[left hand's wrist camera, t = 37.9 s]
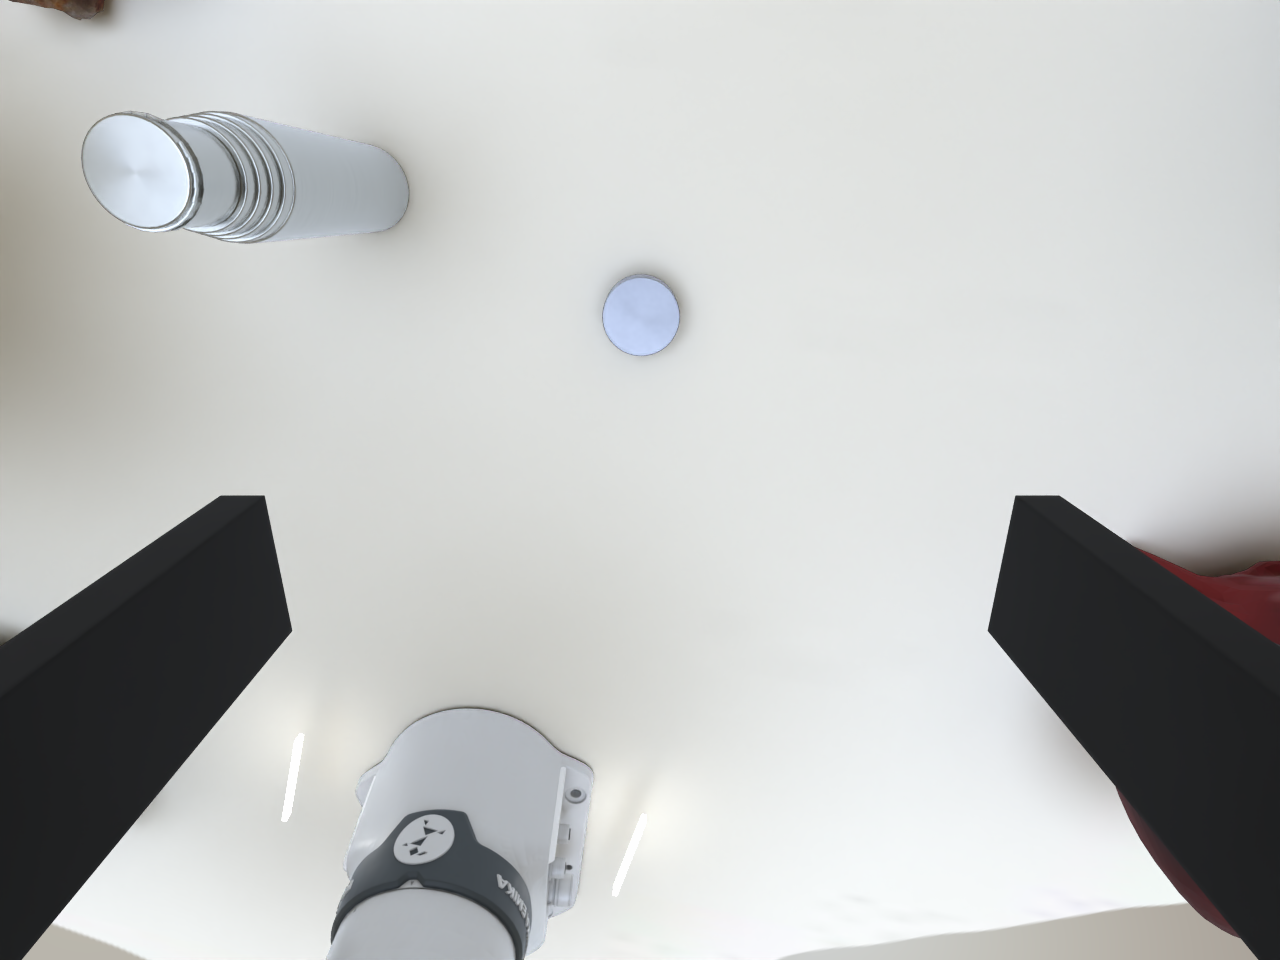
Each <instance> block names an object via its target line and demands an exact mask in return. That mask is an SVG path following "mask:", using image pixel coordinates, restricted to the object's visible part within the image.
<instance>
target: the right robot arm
mask: <svg viewBox="0 0 1280 960" xmlns="http://www.w3.org/2000/svg"><path fill="white" fill-rule="evenodd" d="M303 737H304V735H303V734H299V735H298V737H297V739H296V740H295V742H294V748H293V755H292V761H291V767H290V773H289V780H288V786H287V792H286V798H285V805H284V811H283V817H282V821H287V819H288V817H289V815H290V814H291V809H292V803H293V797H294V791H295V785H296V779H297V773H298V767H299V761H300V755H301V749H302V743H303ZM593 778H594V775H593V771H592V770H591V768H590V767H588V766H587V765H586V764H584V763H582V762H580V761H578V760H576V759H574V758H572V757H569V756H567V755H564V754H562V753H561V752H559V751H558V750H557V749H556V748H555V747H553V746H552V745H551V744H550V743H549V742H548V741H547V740H546V739H545V738H544V737H543V736H542V735H541V734H540V733H539V732H537V731H536V730H535V729H533V728H532V727H530V726H529V725H527V724H525V723H524V722H522V721H520V720H518V719H516V718H513V717H511V716H508V715H505V714H502V713H499V712H495V711H490V710H484V709H471V708H464V709H452V710H446V711H441V712H438V713H434V714H431V715H429V716H426V717H424V718H422V719H420V720H418V721H416V722H415V723H413V724H412V725H410V726H409V727H408V728H406V729H405V730H404V731H403V732H402V733H401V734H400V735H399V736H398V738H397V739H396V740H395V741H394V743H393V744H392V746H391V748H390V750H389V752H388V753H387V755H386V757H385V758H384V759H383V761H382V762H381V763H379V764H378V765H376V766H374V767H373V768H371V769H370V770H368V771H367V772H366V773H364V774H363V775H362V776H361V777H360V779H359V782H358V784H357V787H356V796H357V798H358V800H359V802H360V804H361V806H362V811H361V813H360V816H359V819H358V821H357V824H356V827H355V830H354V833H353V835H352V838H351V841H350V844H349V847H348V850H347V852H346V855H345V859H344V864H343V866H344V870H345V871H346V872H347V874H348V878H349V880H350V883H349V885H348V887H346V889H345V891H344V893H343V895H342V898H341V900H340V903H339V905H338V908H337V909H338V910H337V912H336V914H337V915H336V918H335V920H334V923H333V927H332V931H331V947H330V950H329V952H328V954H327V957H326V959H325V960H524V958H525V956H527V955H529V954H531V953H533V952H534V951H536V950H537V949H538V948H539V947H541V945H542V944H543V943H544V941H545V936H546V930H547V922H548V918H551V917H554V916H556V915H559V914H561V913H563V912H565V911H567V910H569V909H570V908H572V907H573V906H574V904H575V901H576V896H577V891H578V885H579V878H580V871H581V864H582V856H583V849H584V842H585V835H586V828H587V821H588V814H589V807H590V800H591V792H592V785H593ZM575 789H577V790H579V791H575ZM645 824H646V815H644V814H642V815H641V818H640V820H639V823H638V825H637V828H636V830H635V833H634V835H633V838H632V840H631V843H630V845H629V848H628V850H627V853H626V855H625V858H624V861H623V863H622V866H621V868H620V871H619V873H618V876H617V878H616V881H615V883H614V886H613V895H614V896H617V894H618V891H619V889H620V886H621V884H622V882H623V879H624V877H625V874H626V872H627V869H628V867H629V864H630V862H631V859H632V857H633V854H634V852H635V849H636V847H637V844H638V842H639V839H640V837H641V834H642V832H643V829H644V827H645Z"/></svg>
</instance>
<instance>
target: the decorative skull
mask: <svg viewBox="0 0 1280 960" xmlns="http://www.w3.org/2000/svg"><path fill="white" fill-rule="evenodd" d="M1135 548H1136V547H1135ZM1137 549H1138V548H1137ZM1138 550H1139V551H1141V552H1142V553H1144V554H1145V555H1147V556H1148V557H1150V558H1151V559H1153V560H1154V561H1156V562H1157V563H1158V564H1160V565H1161V566H1163V567H1164V568H1166V569H1167V570H1169V571H1170V572H1172V573H1173V574H1174V575H1176V576H1177V577H1179V578H1180V579H1182V580H1183V581H1185V582H1186V583H1188V584H1189V585H1191V586H1192V587H1193V588H1195V589H1196V590H1198V591H1199V592H1201V593H1202V594H1204V595H1205V596H1207V597H1208V598H1210V599H1211V600H1212V601H1214V602H1215V603H1217V604H1218V605H1220V606H1221V607H1223V608H1224V609H1226V610H1227V611H1229V612H1230V613H1231V614H1233V615H1234V616H1236V617H1237V618H1239V619H1240V620H1242V621H1243V622H1245V623H1246V624H1247V625H1249V626H1250V627H1252V628H1253V629H1255V630H1256V631H1258V632H1259V633H1261V634H1262V635H1264V636H1265V637H1266V638H1268V639H1269V640H1271V641H1272V642H1274V643H1276V644H1278V645H1280V561H1261V562H1258V563H1256V564H1255V565H1253V566H1251V567H1250V568H1248V569H1247V570H1245V571H1241V572H1237V573H1234V574H1232V575H1223V576H1218V577H1208V576H1199V575H1197V574H1195V573H1193V572H1190V571H1188V570H1186V569H1184V568H1182V567H1179V566H1177V565H1175V564H1173V563H1171V562H1168V561H1166V560H1164V559H1162V558H1160V557H1158V556H1155V555H1153V554H1151V553H1148V552H1146V551H1143V550H1141V549H1138ZM1116 789H1117V792H1118V794H1119V797H1120V799H1121V801H1122V804H1123V806H1124V808H1125V810H1126V813H1127V815H1128V817H1129V819H1130V821H1131V823H1132V825H1133V827H1134V828H1135V830H1136V832H1137V834H1138V836H1139V838H1140V839H1141V841H1142V843H1143V844H1144V846H1145V847H1146V849H1147V850H1148V852H1149V853H1150V855H1151V856H1152V858H1153V859H1154V861H1155V862H1156V863H1157V865H1158V866H1159V867H1160V869H1161V870H1162V871H1163V873H1164V874H1165V875H1166V876H1167V878H1168V879H1169V880H1170V882H1171V883H1172V884H1173V885H1174V887H1175V888H1176V889H1177V891H1178V892H1179V893H1180V894H1181V895H1182V896H1183V897H1184V898H1185V900H1186V901H1187V902H1188V903H1189V904H1190V905H1191V906H1192V907H1193V908H1194V909H1195V910H1196V911H1197V912H1198V913H1199V914H1200V915H1201V916H1202V917H1204V918H1205V919H1206V920H1208V921H1209V922H1211V923H1212V924H1214V925H1215V926H1217V927H1218V928H1220V929H1221V930H1223V931H1225V932H1227V933H1229V934H1231V935H1233V936H1236V937H1238V938H1240V937H1239V936H1238V934H1237V933H1236V932H1235V931H1234V929H1233V928H1232V927H1231V926H1230V925H1229V923H1228V922H1227V921H1226V920H1225V919H1224V917H1223V916H1222V915H1221V914H1220V912H1219V911H1218V910H1217V909H1216V908H1215V906H1214V905H1213V904H1212V903H1211V901H1210V900H1209V899H1208V898H1207V897H1206V895H1205V894H1204V893H1203V892H1202V891H1201V889H1200V888H1199V887H1198V886H1197V884H1196V883H1195V882H1194V881H1193V880H1192V878H1191V877H1190V876H1189V875H1188V874H1187V872H1186V871H1185V870H1184V869H1183V867H1182V866H1181V865H1180V864H1179V863H1178V861H1177V860H1176V859H1175V858H1174V857H1173V855H1172V854H1171V853H1170V852H1169V850H1168V849H1167V848H1166V847H1165V846H1164V844H1163V843H1162V842H1161V841H1160V840H1159V838H1158V837H1157V836H1156V835H1155V833H1154V832H1153V831H1152V830H1151V829H1150V827H1149V826H1148V825H1147V824H1146V823H1145V821H1144V820H1143V819H1142V818H1141V816H1140V815H1139V814H1138V813H1137V812H1136V810H1135V809H1134V808H1133V807H1132V806H1131V804H1130V803H1129V802H1128V801H1127V799H1126V798H1125V797H1124V796H1123V795H1122V793H1121V792H1120V791H1119V790H1118V788H1117V787H1116Z"/></svg>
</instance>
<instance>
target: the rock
mask: <svg viewBox="0 0 1280 960" xmlns="http://www.w3.org/2000/svg"><path fill="white" fill-rule="evenodd" d="M9 1H12V2H19V3H25V4H31V5H36V6H40V7H45V8H54V9H57V10H60V11H63V12H65V13H66V14H68V15H69V16H71V17H73V18H76V19H78V20H81V19H82V18H83V19H91V18H92V17H93V16H94V15H95V14H96V13H98V12H102V11H103V8H104V0H9Z"/></svg>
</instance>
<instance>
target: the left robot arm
mask: <svg viewBox="0 0 1280 960" xmlns="http://www.w3.org/2000/svg"><path fill="white" fill-rule="evenodd" d="M291 632H292V627H291V622H290V617H289V613H288V608H287V603H286V598H285V593H284V588H283V583H282V578H281V574H280V569H279V564H278V559H277V554H276V549H275V544H274V539H273V535H272V530H271V525H270V520H269V515H268V510H267V505H266V500H265V496H219V497H218V498H216V499H215V500H214V501H212V502H211V503H209V504H208V505H206V506H205V507H203V508H202V509H200V510H199V511H197V512H196V513H195V514H193V515H192V516H190V517H189V518H187V519H186V520H184V521H183V522H181V523H180V524H178V525H177V526H176V527H174V528H173V529H171V530H170V531H168V532H167V533H165V534H164V535H162V536H161V537H160V538H158V539H157V540H155V541H154V542H152V543H151V544H149V545H148V546H146V547H145V548H143V549H142V550H141V551H139V552H138V553H136V554H135V555H133V556H132V557H130V558H129V559H127V560H126V561H124V562H123V563H122V564H120V565H119V566H117V567H116V568H114V569H113V570H111V571H110V572H108V573H107V574H106V575H104V576H103V577H101V578H100V579H98V580H97V581H95V582H94V583H92V584H91V585H89V586H88V587H87V588H85V589H84V590H82V591H81V592H79V593H78V594H76V595H75V596H73V597H72V598H70V599H69V600H68V601H66V602H65V603H63V604H62V605H60V606H59V607H57V608H56V609H54V610H53V611H51V612H50V613H49V614H47V615H46V616H44V617H43V618H41V619H40V620H38V621H37V622H35V623H34V624H33V625H31V626H30V627H28V628H27V629H25V630H24V631H22V632H21V633H19V634H18V635H16V636H15V637H14V638H12V639H11V640H9V641H8V642H6V643H5V644H3V645H2V646H0V960H22V959H23V957H24V956H25V955H26V954H27V953H28V951H29V950H30V949H31V948H32V946H33V945H34V944H35V943H36V942H37V940H38V939H39V938H40V937H41V936H42V934H43V933H44V932H45V931H46V929H47V928H48V927H49V926H50V925H51V923H52V922H53V921H54V920H55V919H56V917H57V916H58V915H59V914H60V912H61V911H62V910H63V909H64V908H65V906H66V905H67V904H68V903H69V901H70V900H71V899H72V898H73V897H74V895H75V894H76V893H77V892H78V891H79V889H80V888H81V887H82V886H83V884H84V883H85V882H86V881H87V880H88V878H89V877H90V876H91V875H92V874H93V872H94V871H95V870H96V869H97V867H98V866H99V865H100V864H101V863H102V861H103V860H104V859H105V858H106V857H107V855H108V854H109V853H110V852H111V850H112V849H113V848H114V847H115V846H116V844H117V843H118V842H119V841H120V840H121V838H122V837H123V836H124V835H125V833H126V832H127V831H128V830H129V829H130V827H131V826H132V825H133V824H134V823H135V821H136V820H137V819H138V818H139V816H140V815H141V814H142V813H143V812H144V810H145V809H146V808H147V807H148V806H149V804H150V803H151V802H152V801H153V799H154V798H155V797H156V796H157V795H158V793H159V792H160V791H161V790H162V789H163V787H164V786H165V785H166V784H167V782H168V781H169V780H170V779H171V778H172V776H173V775H174V774H175V773H176V771H177V770H178V769H179V768H180V767H181V765H182V764H183V763H184V762H185V761H186V759H187V758H188V757H189V756H190V754H191V753H192V752H193V751H194V750H195V748H196V747H197V746H198V745H199V744H200V742H201V741H202V740H203V739H204V737H205V736H206V735H207V734H208V733H209V731H210V730H211V729H212V728H213V727H214V725H215V724H216V723H217V722H218V720H219V719H220V718H221V717H222V716H223V714H224V713H225V712H226V711H227V710H228V708H229V707H230V706H231V705H232V703H233V702H234V701H235V700H236V699H237V697H238V696H239V695H240V694H241V693H242V691H243V690H244V689H245V688H246V686H247V685H248V684H249V683H250V682H251V680H252V679H253V678H254V677H255V676H256V674H257V673H258V672H259V671H260V669H261V668H262V667H263V666H264V665H265V663H266V662H267V661H268V660H269V658H270V657H271V656H272V655H273V654H274V652H275V651H276V650H277V649H278V648H279V646H280V645H281V644H282V643H283V641H284V640H285V639H286V638H287V637H288V635H289V634H290V633H291ZM988 632H989V633H990V634H991V635H992V637H993V638H994V639H995V640H996V641H997V643H998V644H999V645H1000V646H1001V648H1002V649H1003V650H1004V651H1005V652H1006V654H1007V655H1008V656H1009V657H1010V658H1011V660H1012V661H1013V662H1014V663H1015V665H1016V666H1017V667H1018V668H1019V669H1020V671H1021V672H1022V673H1023V674H1024V676H1025V677H1026V678H1027V679H1028V680H1029V682H1030V683H1031V684H1032V685H1033V686H1034V688H1035V689H1036V690H1037V691H1038V693H1039V694H1040V695H1041V696H1042V697H1043V699H1044V700H1045V701H1046V702H1047V703H1048V705H1049V706H1050V707H1051V708H1052V710H1053V711H1054V712H1055V713H1056V714H1057V716H1058V717H1059V718H1060V719H1061V720H1062V722H1063V723H1064V724H1065V725H1066V727H1067V728H1068V729H1069V730H1070V731H1071V733H1072V734H1073V735H1074V736H1075V737H1076V739H1077V740H1078V741H1079V742H1080V744H1081V745H1082V746H1083V747H1084V748H1085V750H1086V751H1087V752H1088V753H1089V754H1090V756H1091V757H1092V758H1093V759H1094V761H1095V762H1096V763H1097V764H1098V765H1099V767H1100V768H1101V769H1102V770H1103V771H1104V773H1105V774H1106V775H1107V776H1108V778H1109V779H1110V780H1111V781H1112V782H1113V784H1114V785H1115V786H1116V787H1117V788H1118V790H1119V791H1120V792H1121V793H1122V795H1123V796H1124V797H1125V798H1126V799H1127V801H1128V802H1129V803H1130V804H1131V806H1132V807H1133V808H1134V809H1135V810H1136V812H1137V813H1138V814H1139V815H1140V816H1141V818H1142V819H1143V820H1144V821H1145V823H1146V824H1147V825H1148V826H1149V827H1150V829H1151V830H1152V831H1153V832H1154V833H1155V835H1156V836H1157V837H1158V838H1159V840H1160V841H1161V842H1162V843H1163V844H1164V846H1165V847H1166V848H1167V849H1168V850H1169V852H1170V853H1171V854H1172V855H1173V857H1174V858H1175V859H1176V860H1177V861H1178V863H1179V864H1180V865H1181V866H1182V867H1183V869H1184V870H1185V871H1186V872H1187V874H1188V875H1189V876H1190V877H1191V878H1192V880H1193V881H1194V882H1195V883H1196V884H1197V886H1198V887H1199V888H1200V889H1201V891H1202V892H1203V893H1204V894H1205V895H1206V897H1207V898H1208V899H1209V900H1210V901H1211V903H1212V904H1213V905H1214V906H1215V908H1216V909H1217V910H1218V911H1219V912H1220V914H1221V915H1222V916H1223V917H1224V919H1225V920H1226V921H1227V922H1228V923H1229V925H1230V926H1231V927H1232V928H1233V929H1234V931H1235V932H1236V933H1237V934H1238V936H1239V937H1240V938H1241V939H1242V940H1243V942H1244V943H1245V944H1246V945H1247V946H1248V948H1249V949H1250V950H1251V951H1252V953H1253V954H1254V955H1255V956H1256V957H1257V959H1258V960H1280V645H1278V644H1276V643H1274V642H1272V641H1271V640H1269V639H1268V638H1266V637H1265V636H1264V635H1262V634H1261V633H1259V632H1258V631H1256V630H1255V629H1253V628H1252V627H1250V626H1249V625H1247V624H1246V623H1245V622H1243V621H1242V620H1240V619H1239V618H1237V617H1236V616H1234V615H1233V614H1231V613H1230V612H1229V611H1227V610H1226V609H1224V608H1223V607H1221V606H1220V605H1218V604H1217V603H1215V602H1214V601H1212V600H1211V599H1210V598H1208V597H1207V596H1205V595H1204V594H1202V593H1201V592H1199V591H1198V590H1196V589H1195V588H1193V587H1192V586H1191V585H1189V584H1188V583H1186V582H1185V581H1183V580H1182V579H1180V578H1179V577H1177V576H1176V575H1174V574H1173V573H1172V572H1170V571H1169V570H1167V569H1166V568H1164V567H1163V566H1161V565H1160V564H1158V563H1157V562H1156V561H1154V560H1153V559H1151V558H1150V557H1148V556H1147V555H1145V554H1144V553H1142V552H1141V551H1139V550H1138V549H1137V548H1135V547H1134V546H1132V545H1131V544H1129V543H1128V542H1126V541H1125V540H1123V539H1122V538H1120V537H1119V536H1118V535H1116V534H1115V533H1113V532H1112V531H1110V530H1109V529H1107V528H1106V527H1104V526H1103V525H1102V524H1100V523H1099V522H1097V521H1096V520H1094V519H1093V518H1091V517H1090V516H1088V515H1087V514H1085V513H1084V512H1083V511H1081V510H1080V509H1078V508H1077V507H1075V506H1074V505H1072V504H1071V503H1069V502H1068V501H1066V500H1065V499H1064V498H1062V497H1061V496H1015V500H1014V505H1013V510H1012V515H1011V520H1010V525H1009V530H1008V535H1007V539H1006V544H1005V549H1004V554H1003V559H1002V564H1001V569H1000V574H999V578H998V583H997V588H996V593H995V598H994V603H993V608H992V613H991V617H990V622H989V627H988Z"/></svg>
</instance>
